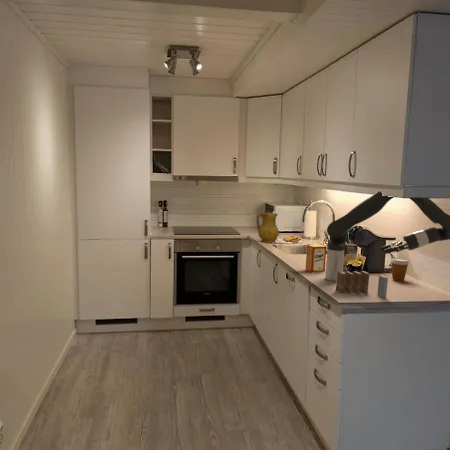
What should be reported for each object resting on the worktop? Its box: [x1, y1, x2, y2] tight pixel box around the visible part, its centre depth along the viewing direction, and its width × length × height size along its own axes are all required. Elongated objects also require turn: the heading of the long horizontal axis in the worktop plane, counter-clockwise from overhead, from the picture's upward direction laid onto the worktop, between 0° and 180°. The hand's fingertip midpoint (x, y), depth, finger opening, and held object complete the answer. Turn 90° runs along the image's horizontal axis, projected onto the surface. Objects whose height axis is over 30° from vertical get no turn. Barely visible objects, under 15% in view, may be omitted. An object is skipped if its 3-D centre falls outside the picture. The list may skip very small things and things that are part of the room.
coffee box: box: [343, 243, 359, 271], centre depth 270 cm, size 9×6×16 cm
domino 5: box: [376, 274, 389, 299], centre depth 213 cm, size 2×5×10 cm, turn 14°
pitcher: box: [256, 212, 280, 244], centre depth 365 cm, size 17×19×25 cm
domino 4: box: [360, 270, 370, 294], centre depth 221 cm, size 2×5×10 cm, turn 14°
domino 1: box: [335, 272, 345, 294], centre depth 217 cm, size 2×5×10 cm, turn 14°
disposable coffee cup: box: [390, 257, 410, 282], centre depth 248 cm, size 10×10×12 cm
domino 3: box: [352, 270, 361, 294], centre depth 220 cm, size 2×5×10 cm, turn 14°
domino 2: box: [344, 270, 353, 294], centre depth 218 cm, size 2×5×10 cm, turn 14°
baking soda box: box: [305, 244, 327, 273], centre depth 262 cm, size 10×6×16 cm
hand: (382, 250), depth 208 cm, fingers open, 8 cm apart
